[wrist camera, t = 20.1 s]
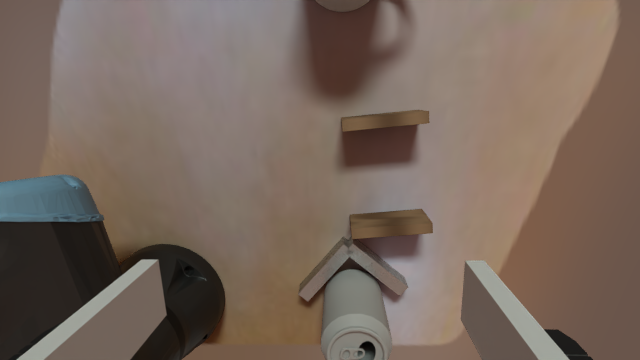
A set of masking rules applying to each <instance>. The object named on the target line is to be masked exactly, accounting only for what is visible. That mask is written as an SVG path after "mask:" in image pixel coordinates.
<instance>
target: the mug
mask: <svg viewBox="0 0 640 360" xmlns="http://www.w3.org/2000/svg"><path fill="white" fill-rule="evenodd" d="M315 1H316V2H318V3H319V4H320V5H321V6H323V7H325V8H327V9H329V10H332V11H336V12H348V11H352V10H356V9H358V8H360V7H362V6H363V5H365V4H366V3H368V2H369V1H370V0H315Z"/></svg>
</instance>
